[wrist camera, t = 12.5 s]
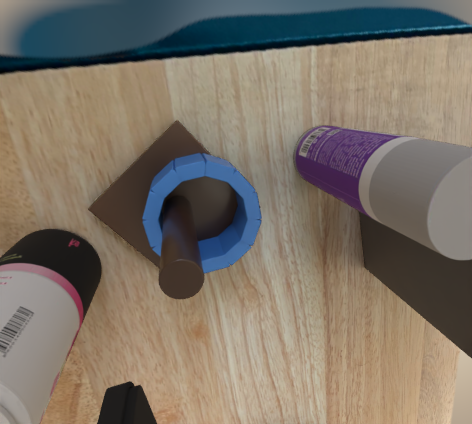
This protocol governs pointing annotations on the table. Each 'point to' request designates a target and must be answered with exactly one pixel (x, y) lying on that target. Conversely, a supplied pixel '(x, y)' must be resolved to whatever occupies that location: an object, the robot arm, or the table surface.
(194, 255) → the stand
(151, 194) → the ring
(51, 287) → the beverage can
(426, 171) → the container
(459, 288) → the pedestal
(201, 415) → the table surface
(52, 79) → the table surface
